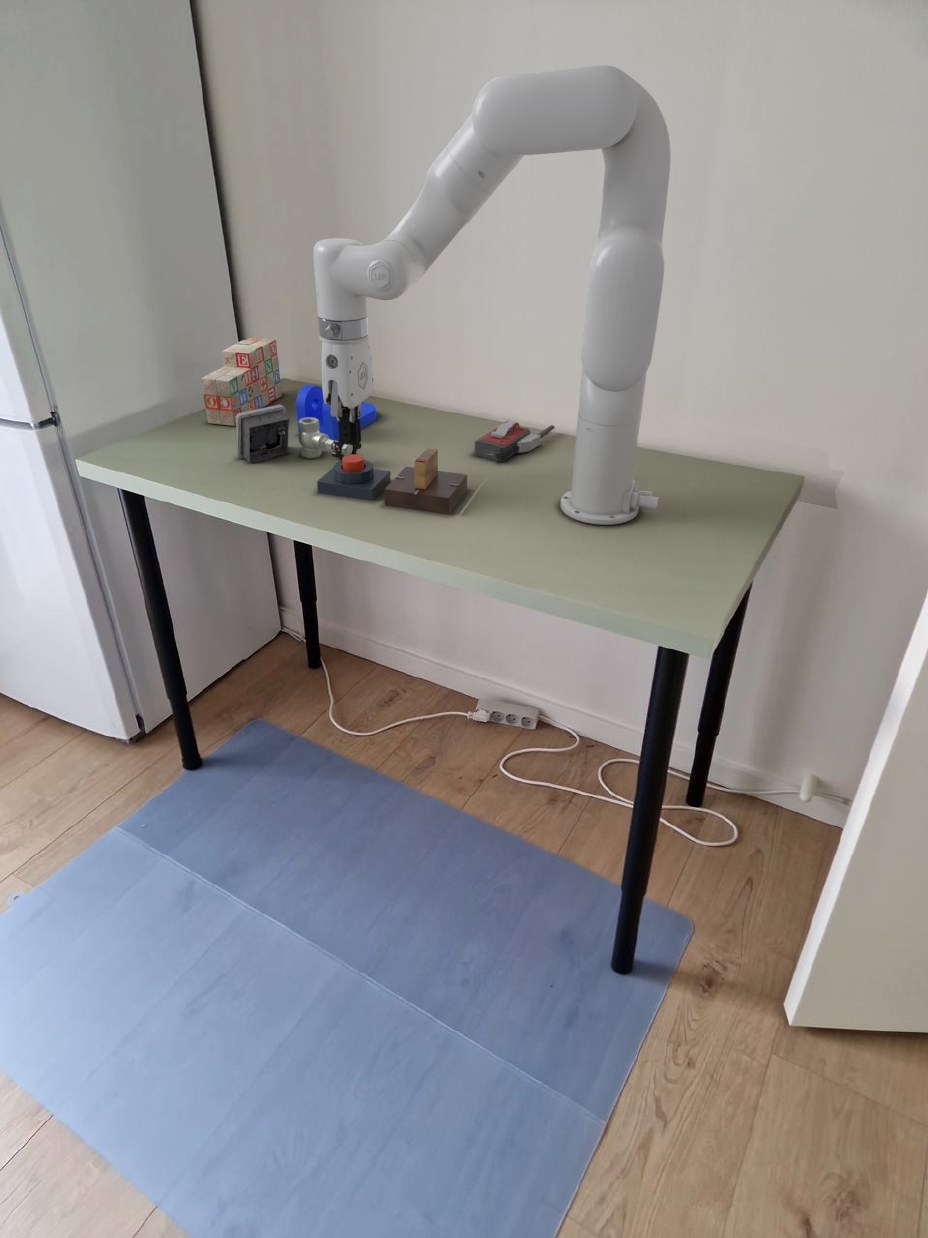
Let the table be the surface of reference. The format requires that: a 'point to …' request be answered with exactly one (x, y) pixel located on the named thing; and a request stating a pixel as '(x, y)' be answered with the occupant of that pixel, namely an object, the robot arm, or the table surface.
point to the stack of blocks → (242, 381)
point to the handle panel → (426, 492)
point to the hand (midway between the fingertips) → (350, 442)
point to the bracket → (326, 411)
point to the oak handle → (426, 468)
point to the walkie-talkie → (507, 441)
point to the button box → (354, 482)
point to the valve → (320, 441)
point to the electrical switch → (262, 433)
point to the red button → (353, 462)
